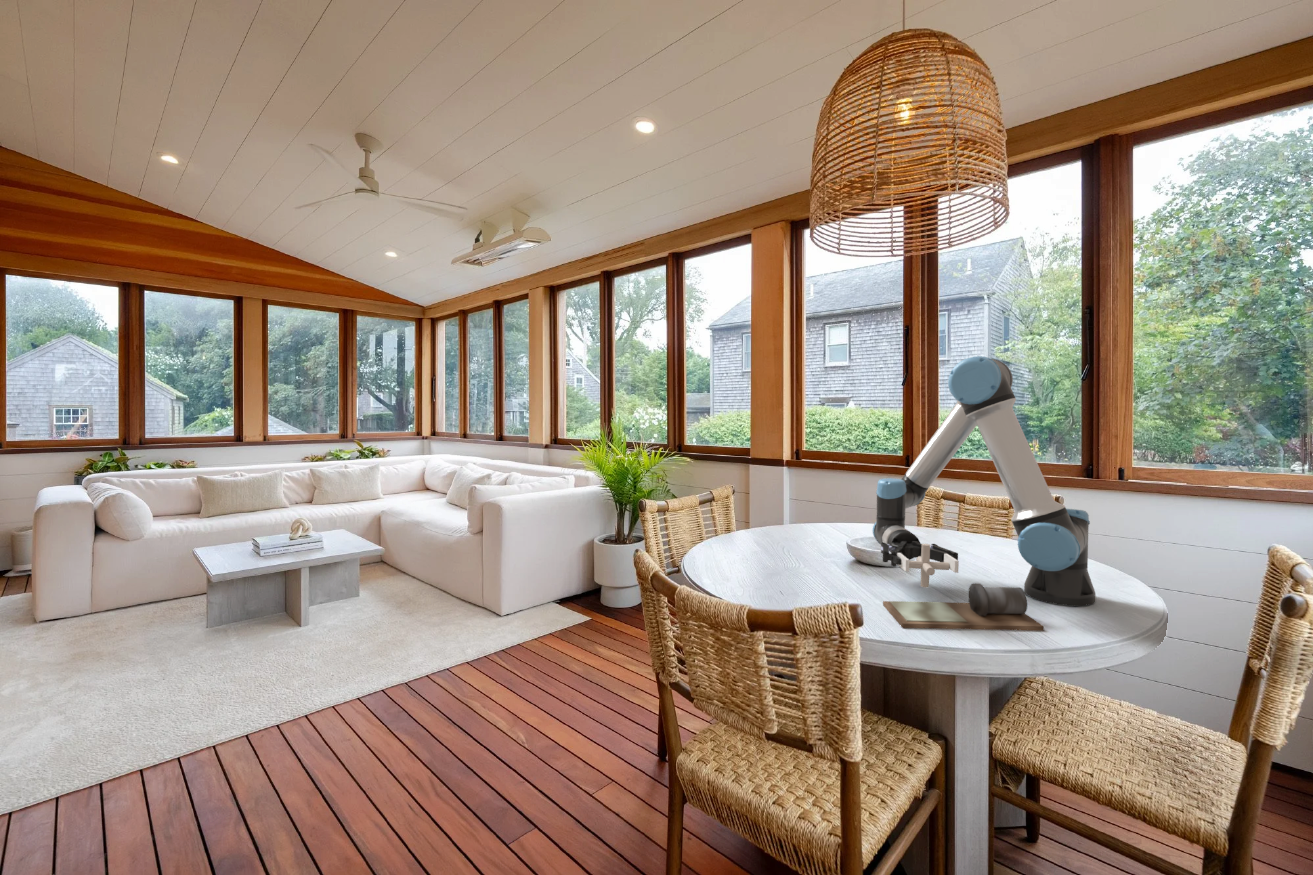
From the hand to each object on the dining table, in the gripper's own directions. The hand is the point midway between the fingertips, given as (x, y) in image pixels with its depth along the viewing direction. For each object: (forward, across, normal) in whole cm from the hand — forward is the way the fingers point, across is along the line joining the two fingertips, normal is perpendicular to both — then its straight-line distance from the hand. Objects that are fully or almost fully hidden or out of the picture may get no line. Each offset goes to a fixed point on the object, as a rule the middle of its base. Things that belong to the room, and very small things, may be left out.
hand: (932, 566), depth 135 cm
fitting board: (-3, -7, -13) cm, 15 cm away
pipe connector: (-4, 0, -6) cm, 8 cm away
